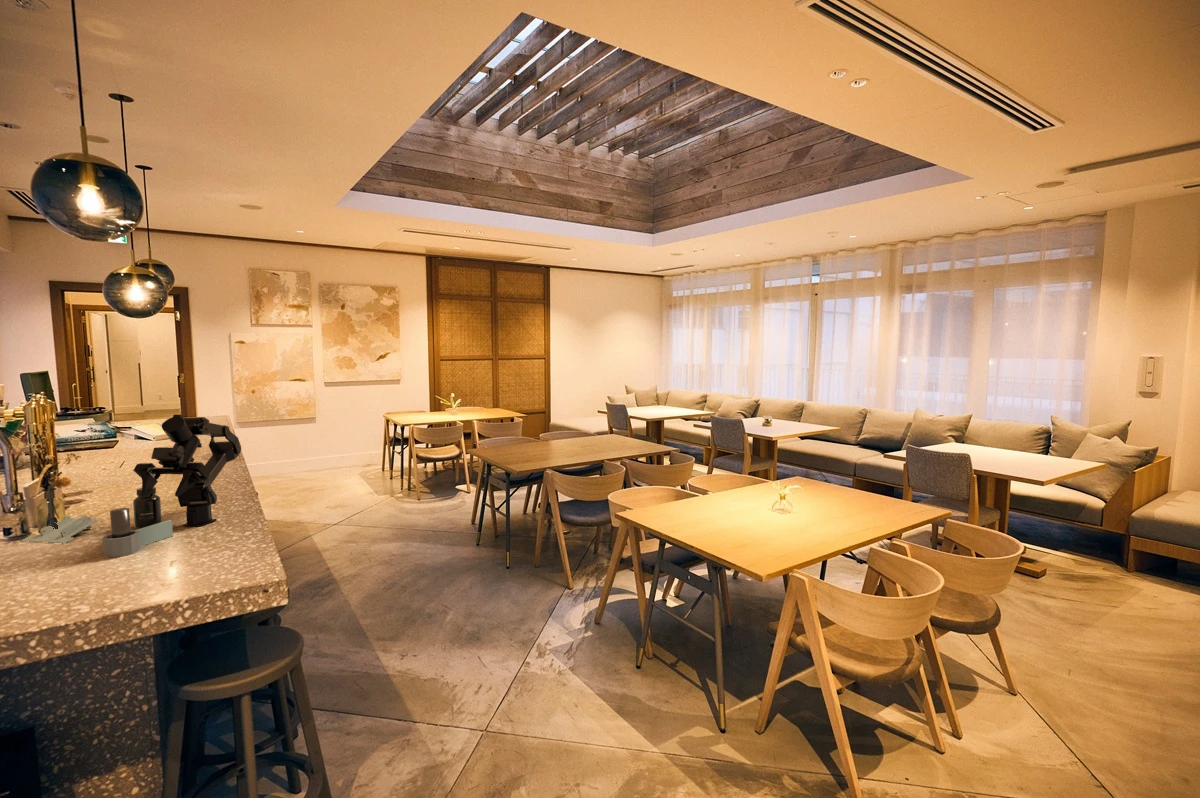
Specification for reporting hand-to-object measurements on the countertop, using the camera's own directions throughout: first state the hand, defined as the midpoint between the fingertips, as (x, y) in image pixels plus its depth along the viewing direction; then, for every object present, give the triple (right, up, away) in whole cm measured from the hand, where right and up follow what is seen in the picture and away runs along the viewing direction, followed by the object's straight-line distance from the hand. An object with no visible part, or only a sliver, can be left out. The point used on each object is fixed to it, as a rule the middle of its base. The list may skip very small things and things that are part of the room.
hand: (159, 496), depth 163 cm
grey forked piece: (-7, -14, -2) cm, 16 cm away
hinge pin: (-5, -14, -7) cm, 17 cm away
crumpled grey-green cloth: (-34, -14, +7) cm, 37 cm away
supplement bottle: (-17, -12, +17) cm, 27 cm away
